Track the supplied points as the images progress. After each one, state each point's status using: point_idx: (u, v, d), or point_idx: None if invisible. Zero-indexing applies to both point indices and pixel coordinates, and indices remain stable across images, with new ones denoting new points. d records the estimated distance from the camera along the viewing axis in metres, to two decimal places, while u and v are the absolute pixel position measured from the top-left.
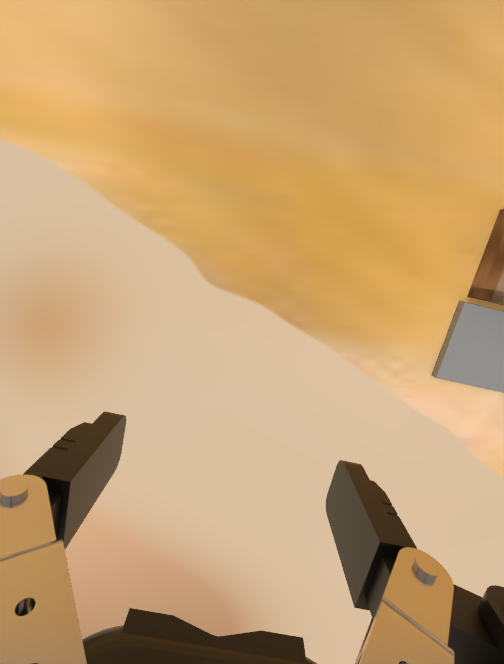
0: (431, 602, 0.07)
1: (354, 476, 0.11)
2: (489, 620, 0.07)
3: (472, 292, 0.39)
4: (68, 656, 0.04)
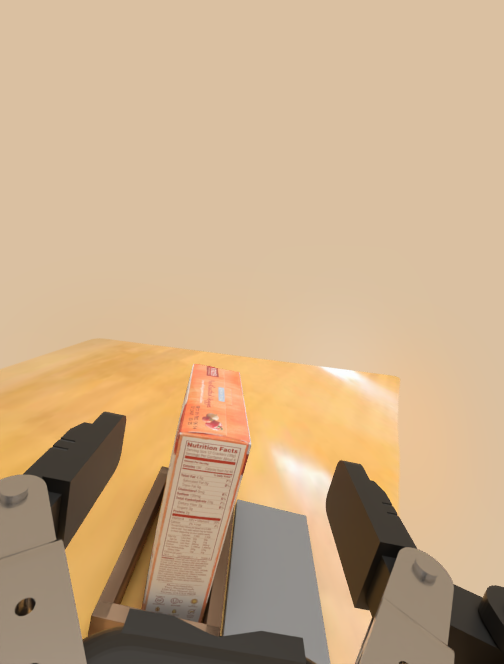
0: (431, 602, 0.07)
1: (354, 476, 0.11)
2: (489, 620, 0.07)
3: None
4: (68, 656, 0.04)
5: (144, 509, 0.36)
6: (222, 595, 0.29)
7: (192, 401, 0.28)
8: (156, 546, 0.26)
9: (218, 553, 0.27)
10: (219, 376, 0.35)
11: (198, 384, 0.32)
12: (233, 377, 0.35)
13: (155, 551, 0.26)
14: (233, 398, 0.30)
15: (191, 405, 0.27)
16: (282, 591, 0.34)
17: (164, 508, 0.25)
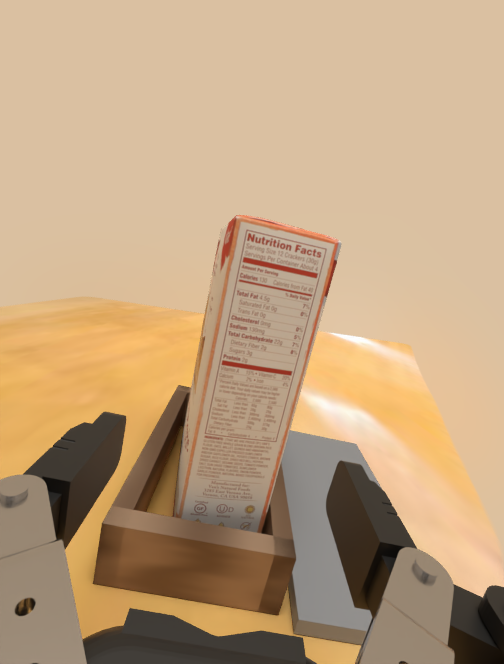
0: (431, 602, 0.07)
1: (354, 476, 0.11)
2: (489, 620, 0.07)
3: (270, 605, 0.18)
4: (67, 657, 0.04)
5: (163, 419, 0.27)
6: (285, 505, 0.21)
7: None
8: (197, 419, 0.18)
9: (286, 430, 0.18)
10: None
11: None
12: None
13: (195, 427, 0.18)
14: None
15: None
16: None
17: (210, 352, 0.17)
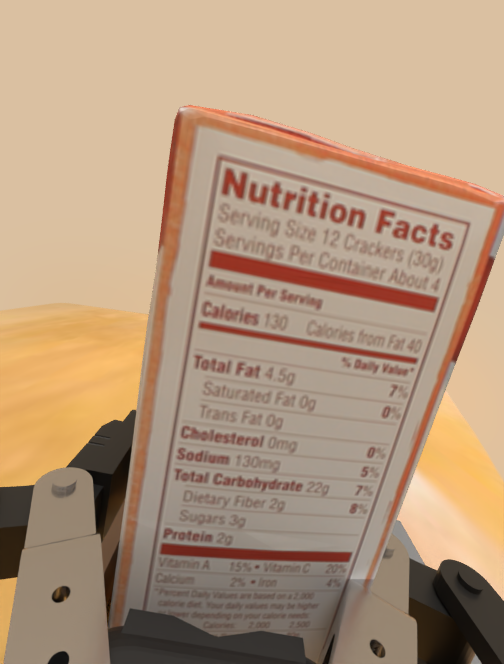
0: (385, 572, 0.07)
1: None
2: (444, 595, 0.07)
3: None
4: (93, 651, 0.04)
5: None
6: None
7: None
8: None
9: None
10: None
11: None
12: None
13: None
14: None
15: None
16: None
17: (125, 525, 0.06)
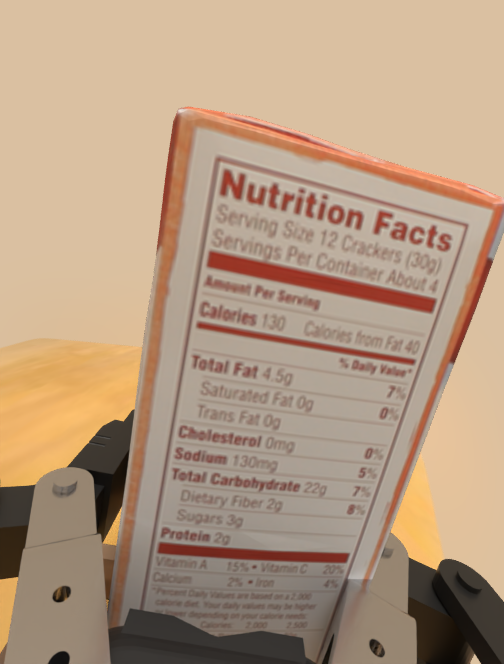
0: (384, 572, 0.07)
1: None
2: (443, 594, 0.07)
3: None
4: (93, 651, 0.04)
5: None
6: None
7: None
8: None
9: None
10: None
11: None
12: None
13: None
14: None
15: None
16: None
17: (122, 524, 0.06)
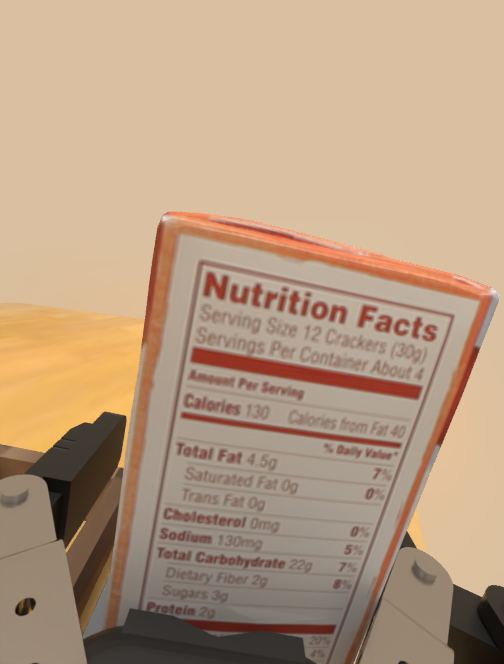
0: (430, 602, 0.07)
1: None
2: (489, 620, 0.07)
3: None
4: (68, 657, 0.04)
5: None
6: None
7: None
8: None
9: None
10: None
11: None
12: None
13: None
14: None
15: None
16: None
17: (109, 598, 0.06)
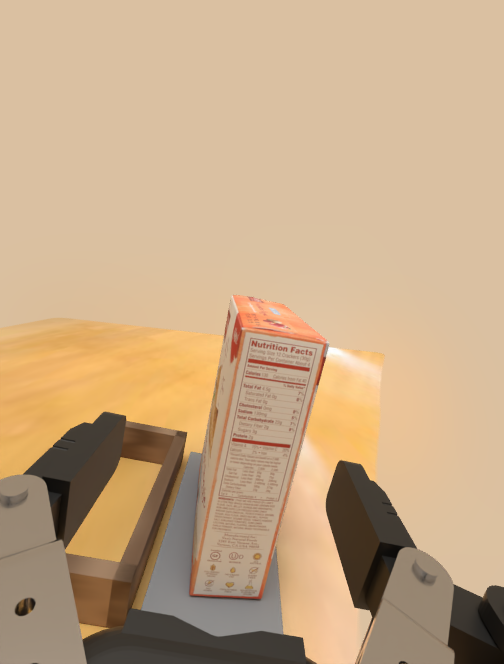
0: (431, 602, 0.07)
1: (354, 476, 0.11)
2: (489, 620, 0.07)
3: (116, 622, 0.21)
4: (68, 657, 0.04)
5: None
6: (147, 533, 0.24)
7: (245, 311, 0.23)
8: (212, 483, 0.21)
9: (287, 492, 0.22)
10: (265, 302, 0.30)
11: (244, 303, 0.27)
12: (280, 305, 0.30)
13: (210, 490, 0.21)
14: (288, 315, 0.26)
15: (245, 313, 0.23)
16: None
17: (222, 432, 0.20)
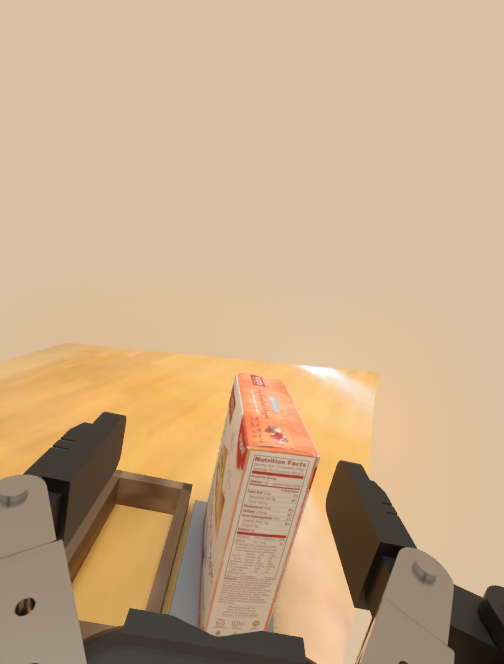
0: (431, 602, 0.07)
1: (354, 476, 0.11)
2: (489, 620, 0.07)
3: None
4: (68, 657, 0.04)
5: (88, 514, 0.35)
6: (161, 599, 0.28)
7: (249, 412, 0.27)
8: (219, 566, 0.25)
9: (282, 572, 0.26)
10: (266, 385, 0.34)
11: (248, 394, 0.31)
12: (279, 386, 0.34)
13: (218, 572, 0.25)
14: (286, 408, 0.29)
15: (249, 417, 0.26)
16: None
17: (228, 526, 0.24)
